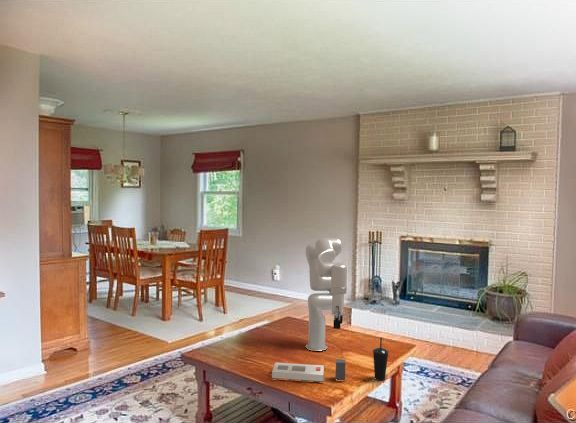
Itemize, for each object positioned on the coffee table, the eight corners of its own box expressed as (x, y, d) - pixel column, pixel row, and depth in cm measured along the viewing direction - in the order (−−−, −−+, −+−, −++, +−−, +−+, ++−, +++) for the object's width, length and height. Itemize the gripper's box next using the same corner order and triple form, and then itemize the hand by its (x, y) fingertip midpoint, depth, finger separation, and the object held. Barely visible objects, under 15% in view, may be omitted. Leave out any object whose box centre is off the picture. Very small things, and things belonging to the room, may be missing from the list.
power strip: (275, 370, 225) (275, 360, 225) (323, 373, 223) (323, 363, 223) (271, 380, 213) (272, 370, 213) (323, 383, 211) (323, 373, 211)
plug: (335, 377, 218) (335, 358, 218) (344, 378, 218) (345, 359, 218) (335, 381, 214) (335, 362, 214) (345, 381, 213) (345, 362, 213)
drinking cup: (368, 376, 220) (370, 335, 219) (382, 374, 223) (383, 334, 222) (377, 382, 213) (378, 340, 212) (391, 380, 216) (392, 339, 215)
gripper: (332, 286, 226) (332, 321, 226) (328, 292, 209) (327, 329, 209) (348, 287, 225) (347, 322, 225) (344, 293, 208) (344, 331, 208)
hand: (338, 325), depth 217 cm, fingers open, 9 cm apart
